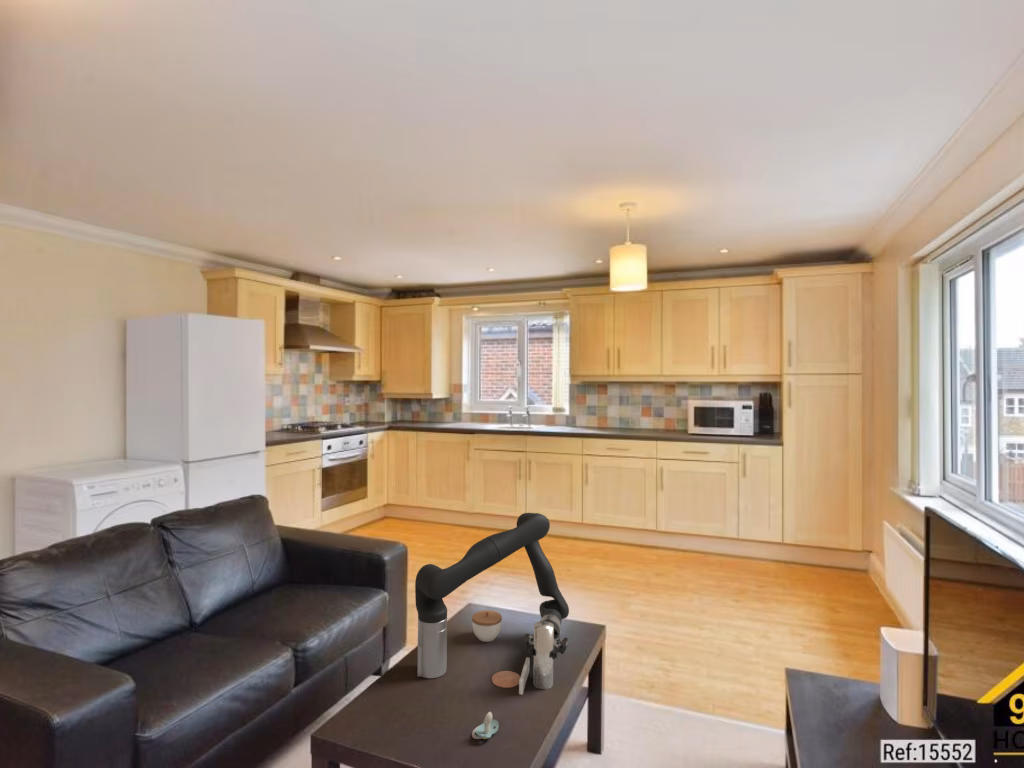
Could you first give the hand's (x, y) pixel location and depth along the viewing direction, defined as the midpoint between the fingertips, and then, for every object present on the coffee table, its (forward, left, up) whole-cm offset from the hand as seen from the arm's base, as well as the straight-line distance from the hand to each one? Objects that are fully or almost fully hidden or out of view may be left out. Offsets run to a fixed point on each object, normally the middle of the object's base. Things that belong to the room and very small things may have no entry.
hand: (542, 655), depth 164 cm
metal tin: (+1, +2, -10) cm, 10 cm away
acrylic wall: (-5, +4, -10) cm, 12 cm away
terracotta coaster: (-10, +6, -10) cm, 16 cm away
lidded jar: (-13, +34, -10) cm, 38 cm away
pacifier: (-20, -19, -10) cm, 29 cm away
